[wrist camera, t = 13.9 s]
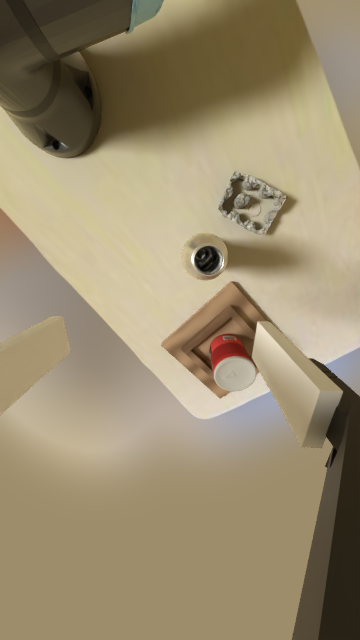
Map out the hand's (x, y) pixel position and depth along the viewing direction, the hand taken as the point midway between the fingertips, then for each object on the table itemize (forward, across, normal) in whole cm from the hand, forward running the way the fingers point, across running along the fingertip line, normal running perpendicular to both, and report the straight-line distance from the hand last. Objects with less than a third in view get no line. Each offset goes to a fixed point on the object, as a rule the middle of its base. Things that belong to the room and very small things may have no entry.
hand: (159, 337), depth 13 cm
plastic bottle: (+32, +4, +4) cm, 32 cm away
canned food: (+30, +11, -17) cm, 37 cm away
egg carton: (+32, +13, +13) cm, 37 cm away
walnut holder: (+32, +11, -17) cm, 38 cm away
